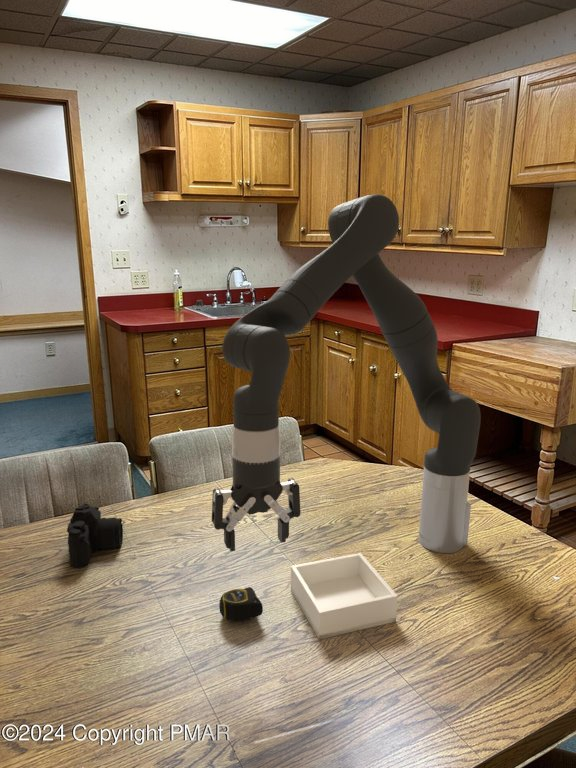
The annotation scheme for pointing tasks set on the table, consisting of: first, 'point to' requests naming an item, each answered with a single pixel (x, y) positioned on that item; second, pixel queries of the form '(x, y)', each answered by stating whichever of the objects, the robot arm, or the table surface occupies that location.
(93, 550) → the film camera
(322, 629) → the bin
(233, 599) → the tape measure
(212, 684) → the table surface
